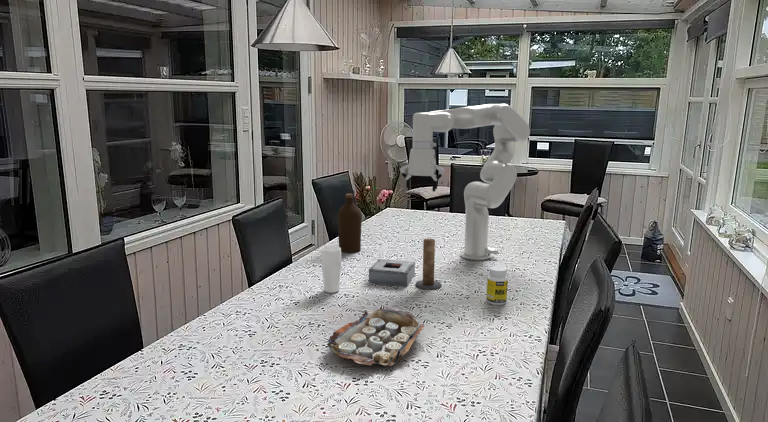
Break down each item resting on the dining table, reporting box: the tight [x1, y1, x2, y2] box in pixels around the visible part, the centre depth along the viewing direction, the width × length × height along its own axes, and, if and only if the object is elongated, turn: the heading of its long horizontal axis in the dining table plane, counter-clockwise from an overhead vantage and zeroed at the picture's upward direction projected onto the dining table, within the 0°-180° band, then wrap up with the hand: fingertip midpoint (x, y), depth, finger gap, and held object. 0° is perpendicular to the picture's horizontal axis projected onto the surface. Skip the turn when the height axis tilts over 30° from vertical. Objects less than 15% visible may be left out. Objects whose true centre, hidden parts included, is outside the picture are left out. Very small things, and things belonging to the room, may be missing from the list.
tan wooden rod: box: [422, 237, 436, 286], centre depth 185 cm, size 4×4×16 cm
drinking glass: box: [320, 245, 342, 294], centre depth 179 cm, size 7×7×15 cm
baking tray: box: [326, 307, 425, 367], centre depth 138 cm, size 30×22×5 cm
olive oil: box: [336, 193, 363, 254], centre depth 229 cm, size 11×11×25 cm
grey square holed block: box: [368, 258, 416, 287], centre depth 193 cm, size 14×14×5 cm
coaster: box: [415, 279, 442, 291], centre depth 186 cm, size 9×9×1 cm
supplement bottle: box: [485, 265, 509, 306], centre depth 170 cm, size 6×6×11 cm
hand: (421, 190), depth 203 cm, fingers open, 9 cm apart
